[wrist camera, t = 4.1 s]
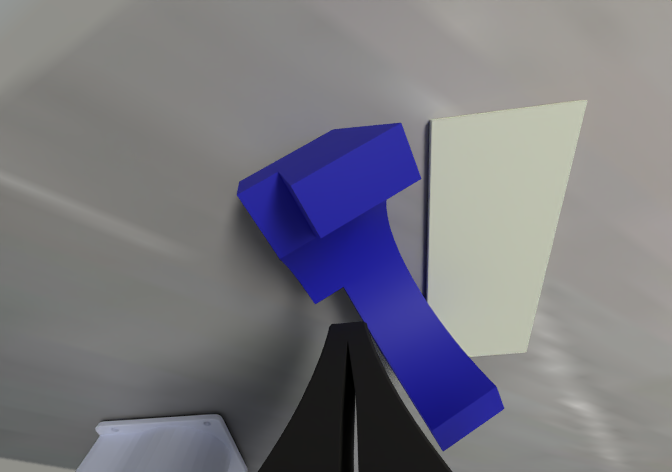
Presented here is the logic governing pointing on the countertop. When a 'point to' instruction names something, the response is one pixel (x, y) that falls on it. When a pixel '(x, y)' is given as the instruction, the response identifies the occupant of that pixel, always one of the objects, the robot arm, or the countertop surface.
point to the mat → (495, 219)
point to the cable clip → (368, 263)
